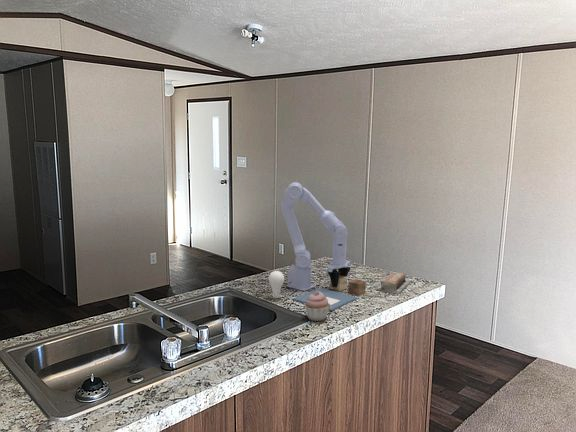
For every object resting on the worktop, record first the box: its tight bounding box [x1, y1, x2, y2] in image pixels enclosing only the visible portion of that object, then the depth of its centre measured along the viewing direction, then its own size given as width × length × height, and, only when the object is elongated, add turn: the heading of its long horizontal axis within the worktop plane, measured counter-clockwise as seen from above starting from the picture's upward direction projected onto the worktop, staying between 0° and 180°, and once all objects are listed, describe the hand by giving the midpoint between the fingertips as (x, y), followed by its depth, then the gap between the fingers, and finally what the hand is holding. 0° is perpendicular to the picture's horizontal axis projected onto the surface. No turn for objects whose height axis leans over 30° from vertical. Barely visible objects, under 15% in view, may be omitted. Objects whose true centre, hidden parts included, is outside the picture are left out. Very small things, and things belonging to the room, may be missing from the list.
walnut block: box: [347, 278, 367, 297], centre depth 194 cm, size 5×5×5 cm
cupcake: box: [303, 291, 331, 322], centre depth 166 cm, size 9×9×10 cm
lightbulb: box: [268, 270, 285, 300], centre depth 186 cm, size 6×6×11 cm
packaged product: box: [375, 272, 412, 295], centre depth 204 cm, size 18×5×10 cm
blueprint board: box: [292, 287, 359, 312], centre depth 186 cm, size 18×18×1 cm
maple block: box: [329, 275, 348, 292], centre depth 200 cm, size 5×5×5 cm
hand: (338, 285), depth 200 cm, fingers closed on maple block, 5 cm apart
